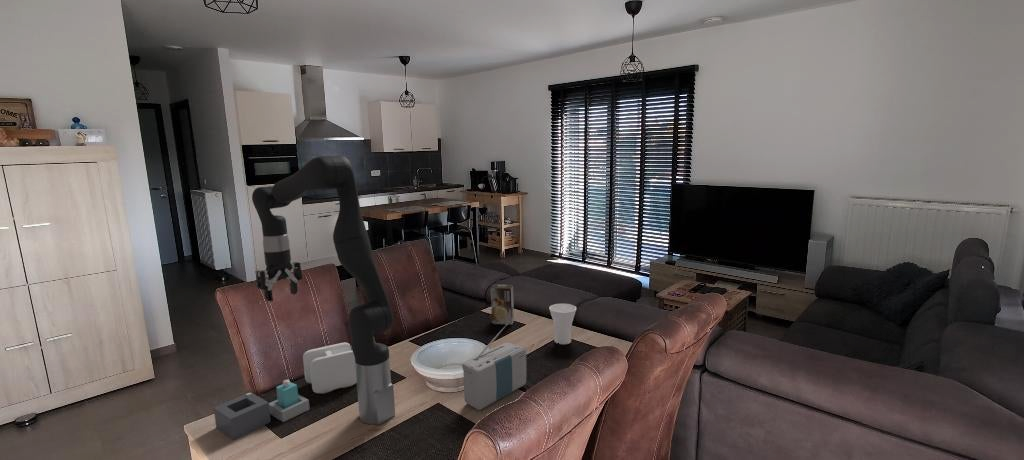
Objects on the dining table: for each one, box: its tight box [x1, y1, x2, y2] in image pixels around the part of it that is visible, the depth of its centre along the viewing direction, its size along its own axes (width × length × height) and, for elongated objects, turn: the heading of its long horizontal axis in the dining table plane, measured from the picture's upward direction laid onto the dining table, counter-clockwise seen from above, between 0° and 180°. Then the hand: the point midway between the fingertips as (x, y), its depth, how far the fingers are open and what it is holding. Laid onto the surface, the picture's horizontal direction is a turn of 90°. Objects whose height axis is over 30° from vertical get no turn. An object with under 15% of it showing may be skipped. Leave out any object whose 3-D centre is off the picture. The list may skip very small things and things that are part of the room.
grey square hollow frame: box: [269, 394, 310, 423], centre depth 140 cm, size 8×8×3 cm
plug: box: [275, 379, 299, 409], centre depth 139 cm, size 4×4×10 cm
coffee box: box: [490, 283, 515, 325], centre depth 207 cm, size 9×6×16 cm
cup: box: [548, 303, 577, 345], centre depth 185 cm, size 10×10×14 cm
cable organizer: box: [302, 342, 357, 394], centre depth 155 cm, size 15×11×12 cm
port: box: [213, 392, 272, 440], centre depth 133 cm, size 10×10×6 cm
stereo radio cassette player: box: [461, 324, 527, 411], centre depth 145 cm, size 21×8×20 cm, turn 137°
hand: (282, 297), depth 156 cm, fingers open, 8 cm apart
